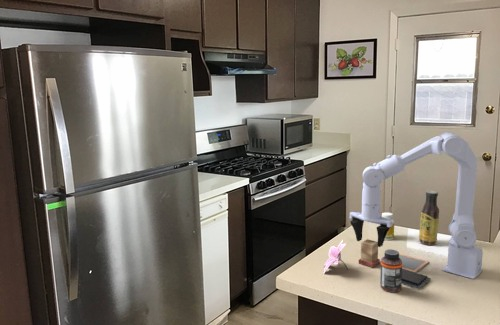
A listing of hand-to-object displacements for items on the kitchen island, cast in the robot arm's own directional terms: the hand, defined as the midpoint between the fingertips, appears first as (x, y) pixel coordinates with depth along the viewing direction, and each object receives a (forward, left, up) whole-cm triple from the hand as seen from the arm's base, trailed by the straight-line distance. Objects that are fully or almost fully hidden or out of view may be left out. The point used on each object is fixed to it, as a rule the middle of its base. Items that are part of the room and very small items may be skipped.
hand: (369, 243), depth 143 cm
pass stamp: (0, 0, -7) cm, 7 cm away
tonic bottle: (-7, -31, -7) cm, 33 cm away
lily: (+6, +11, -7) cm, 15 cm away
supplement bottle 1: (+7, -26, -7) cm, 28 cm away
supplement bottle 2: (-13, +12, -7) cm, 19 cm away
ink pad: (-15, +3, -7) cm, 17 cm away
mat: (-9, -8, -7) cm, 14 cm away
